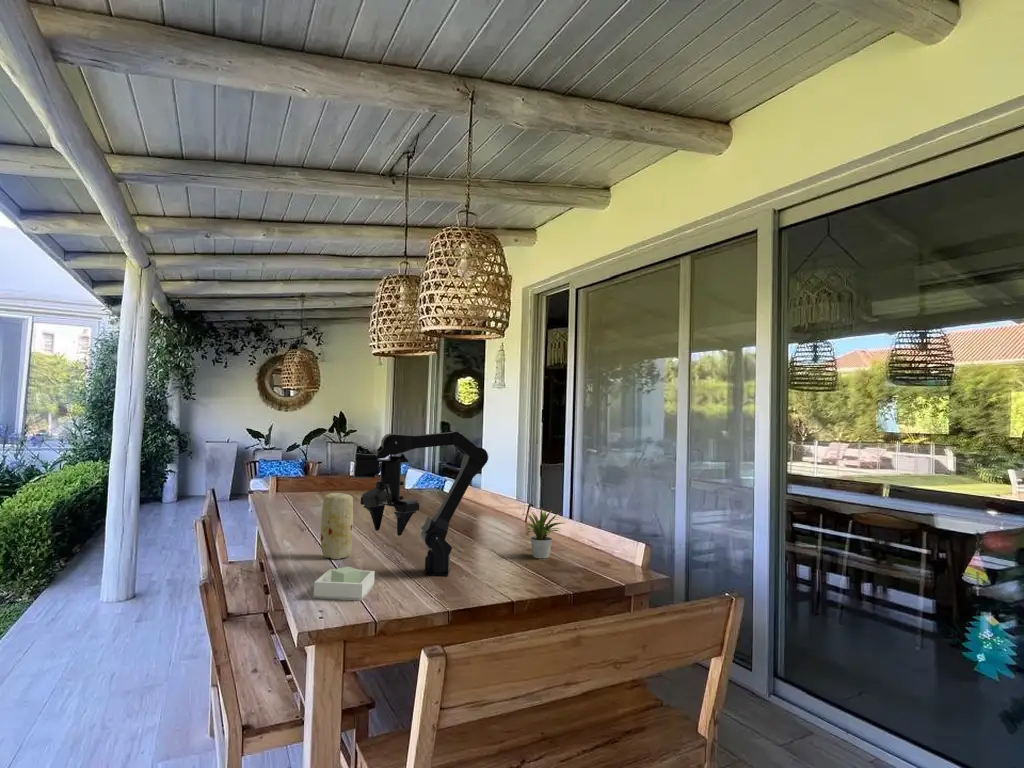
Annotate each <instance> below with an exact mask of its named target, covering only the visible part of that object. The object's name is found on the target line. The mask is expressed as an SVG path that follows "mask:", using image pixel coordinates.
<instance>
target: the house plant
mask: <svg viewBox="0 0 1024 768" xmlns="http://www.w3.org/2000/svg"><path fill="white" fill-rule="evenodd" d="M552 512H553V510H550V511H549V512H548V513H547V510H544V511H543V507H541V509H540V513H539V514H540V515H539V519H538V516H537V514H536V513H535V512H531V514H532V516H533V517H532V516H531V514H530V513H528V514H526V513H525V514H523V513H522V515H524V516H526V517H527V518H528V519H529V520H530V522H531V523H527V524H526V526H529V527H528V528H527V529H526V531H527V533H530V532H531V533H534V535H535V536H534V535H533V536H531V537H530V541H531V542H530V543H531V550H532V552H531V553H532V558H533V557H536V558H548V557H550V552H551V548H552V543H553V538H552V537H550V536H548V535H550V534H551V533H552V532H559V533H561V532H562V531H561V528H560V527H555V526H557V525H561V524H565V522H553V521H555V520H559V519H558V517H557V516H558V515H560V514H561V513H557V514H555V515H553V517H552V518H550V520H548V522H547V523H546V521H547V519H548V518H549V515H551V513H552ZM548 559H549V558H548Z"/></svg>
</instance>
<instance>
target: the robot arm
mask: <svg viewBox="0 0 1024 768" xmlns="http://www.w3.org/2000/svg"><path fill="white" fill-rule="evenodd" d="M380 441H381V442H380V446H379V447H378V448H377V450H375V452H374V453H371V454H370V453H367V454H364V453H358V452H357V453H355V457H354V464H353V478H354V479H374V478H375V476H377V475H380V479H379V480H377V481H376V483H375V487H374V488H371V489H369V490H368V491H366V492H364V493H362V495H361V497H360V505H362V506H363V508H364V509H366V510H367V511H368V512H369V514H370V516H371V519H372V523H373V526H374V530H375V532H378V531H379V530H380V528H381V524H382V520H383V516H384V512H385V507H386V506H388V507H393V508H394V510H395V511H394V512H393V513H394V515H395V516H396V533H397V536H398V537H400V536H402V534H403V533H404V530H405V528H406V527H407V525H408V523H409V521H410V520H411V518H412V516H413V515H414V514H416V512H417V511H420V502H419V500H416V499H411V498H406V499H404V496H403V495H401V486H404V485H405V484H404V483H405V482H404V481H403V480H402V475H401V474H402V463H409V459H408V458H407V457H406V456H405V454H403V453H407V452H409V451H411V450H415V449H423V448H424V449H425V448H431V447H443V446H454V447H455V448H456V449H457V450H458V451H459V452H460V453H461V454H462V455H463V457H462V459H461V464H460V469H459V472H458V474H457V475H456V477H455V479H454V482H453V484H452V485H451V487H450V489H449V490H448V491H447V494H446V495H445V498H444V500H443V501H442V504H441V506H440V507H439V509H438V511H437V513H436V514H435V515H433V517H432V518H431V517H430V516H428V515H427V517H426V520H425V522H424V524H423V525H422V527H420V529H421V533H420V535H421V540H422V541H423V543H424V544H425V545H426V546H427V547H428V551H427V554H426V556H425V559H424V561H425V562H424V571H425V574H424V575H425V576H443V577H444V576H445V577H447V576H449V574H450V573H451V568H450V566H451V564H450V563H451V552H452V550H453V546H451V544H449V542H448V541H447V540H446V538H447V535H448V533H449V526H450V521H451V520H452V517H453V515H454V514H455V512H456V510H457V508H458V507H459V504H460V502H461V501H462V499H463V497H464V495H465V493H466V491H467V489H468V488H469V486H470V484H471V482H472V480H473V479H474V478H475V476H477V475H478V474H479V473H480V472H481V471H482V470H483V468H484V467H485V465H486V464H487V463H488V460H489V454H488V452H487V450H486V449H485V448H483V447H480V446H476V445H475V444H474V443H473V442H472V441H470V440H469V439H468V438H466V436H464V435H463V434H462V432H460V431H456V430H452V431H449V432H438V433H437V432H436V433H427V434H426V433H425V434H414V435H413V434H412V435H411V434H402V433H387V434H385V435H384V436H383V437H382V439H381V440H380ZM398 454H399V455H398ZM387 457H388V459H387ZM385 458H386V459H385ZM379 472H380V473H379Z"/></svg>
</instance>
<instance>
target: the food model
mask: <svg viewBox="0 0 1024 768" xmlns="http://www.w3.org/2000/svg"><path fill="white" fill-rule="evenodd" d="M321 508H322V509H321V510H322V511H321V520H320V548H321V553H322V556H323V557H324V558H329V559H331V560H335V559H338V560H341V558H342V559H344V558H348V557H350V555H351V554H352V544H353V527H354V526H353V525H354V498H353V496H352V495H350V494H347V493H343V492H331V493H327V494H325V495H324V496H323V501H322V507H321Z"/></svg>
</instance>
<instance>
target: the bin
mask: <svg viewBox="0 0 1024 768" xmlns="http://www.w3.org/2000/svg"><path fill="white" fill-rule="evenodd" d="M334 569H335V568H330V569H328V570H327V571H325V573H324V574H322V575H321V576H320V577H318V578H317V579H316V580H314V581H313V583H314V584H313V599H316V600H317V599H318V600H319V599H320V600H336V601H338V600H339V601H359V602H361V601H363V600H364V598H366V596H367V595H368V594H369V593H370V591H372V589H373V588H374V586H375V573H376V572H375V570H364V569H363V570H362V569H359V570H360V581H359V583H346V582H331V575H332V570H334Z"/></svg>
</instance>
